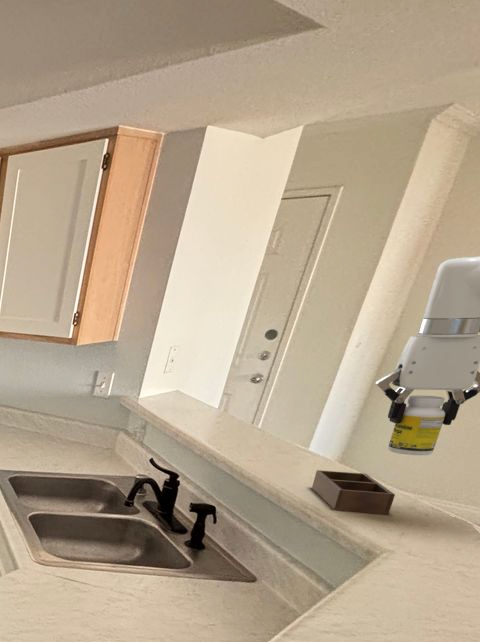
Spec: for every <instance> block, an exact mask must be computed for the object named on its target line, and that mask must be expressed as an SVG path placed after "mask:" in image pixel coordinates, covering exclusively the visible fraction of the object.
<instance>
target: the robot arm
mask: <svg viewBox="0 0 480 642" xmlns="http://www.w3.org/2000/svg"><path fill="white" fill-rule="evenodd" d="M422 315H423V316H422V319H421V322H420V326H419V329H418V332H417V335H411V336H410V337H409V338H408V340H407V342H406V343H405V346H404V348H403V350H402V352H401V354H400V356H399V358H398V360H397V363H396V365H395V367H394V371H392V372H390V373H388V374H387V375H384V376H383V377H381V378H380V379H378V380H377V381H376V382H374V385H375V387H376V388H378V389H379V390H380V391H381V392H382V393H383V394H384V395H385V396H386V397H387V398H388V399H389V401H391V402H390V407H389V410H388V414H387V418H388V419H389V422H391V423H393V424H396V423H397V424H399V423H401V421H402V418H403V415H404V411H405V408H406V407H407V403H405V401H406V400H407V398H409V397H410V396H411V394H412V393H413V392H414V391H415V390H422V391H423V390H424V391H428V390H429V391H445V393H446V395H447V401H444V403H443V404H442V406H441V409H442V410H444V412H445V418H444V421H443V424H442V425H445V426H450V425H452V421H455V420H456V418H457V415H458V412H459V410H460V406H461V405H463V404H465V402H466V401H468V400H470V399H471V398H474V397H476V396H477V395H478V394H479V393H480V371H478V370H479V367H480V335H479V333H480V256H467V257H465V256H464V257H456V258H455V257H454V258H449V259H446V260H444V261H443V262H441V263H440V264H439V266H438V268H437V269H436V273H435V277H434V279H433V283H432V286H431V289H430V292H429V297H428V299H427V302H426V305H425V309H424V313H423V314H422ZM390 384H392V385H393V386H395V387H398V388H397V389H396V390H395V389H393V388H392V387H391V386H390ZM473 384H474V385H473Z"/></svg>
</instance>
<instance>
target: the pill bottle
mask: <svg viewBox="0 0 480 642" xmlns="http://www.w3.org/2000/svg"><path fill="white" fill-rule="evenodd" d="M443 403H445V397H442V396H436V395H409V396H408V400H407V406H406V408H405V411H404V415H403V418H402V421H401V423H399V424H397V423H394V427H393V430H392V434H391V437H390V440H389V443H388V447H387V449H388V451H389V452H393V453H396V454H399V455H409V456H429V455H432V454H433V452H434V450H435V447H436V445H437V441H438V439H439V435H440V433H441V429H442V426H443V425H444V424H443V421H444V418H445V412H444V410H442V408H441V407H442V406H443Z"/></svg>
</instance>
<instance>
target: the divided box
mask: <svg viewBox="0 0 480 642" xmlns="http://www.w3.org/2000/svg"><path fill="white" fill-rule="evenodd" d="M311 490H313V491H314V492H315V494H317V495H318V496H319V497H320V498H321V499H322V500H323V501H324V502H325V503H327V505H329V506H330V507H331V508H332V509H333V510H334V511H343V512H355V513H363V514H364V513H365V514H376V515H389V514H390V511H391V508H392V504H393V502H394V499H395V497H396V493H394V492H393V491H391V490H390V489H388V488H387V487H386V486H384V485H382V484H381V483H379V482H378V481H377V480H375V479H374V478H372V477H371V476H370V475H368V474H367V473H362V472H349V471H348V472H347V471H334V470H319V469H317V470H316V472H315V474H314V478H313V482H312V486H311Z"/></svg>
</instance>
